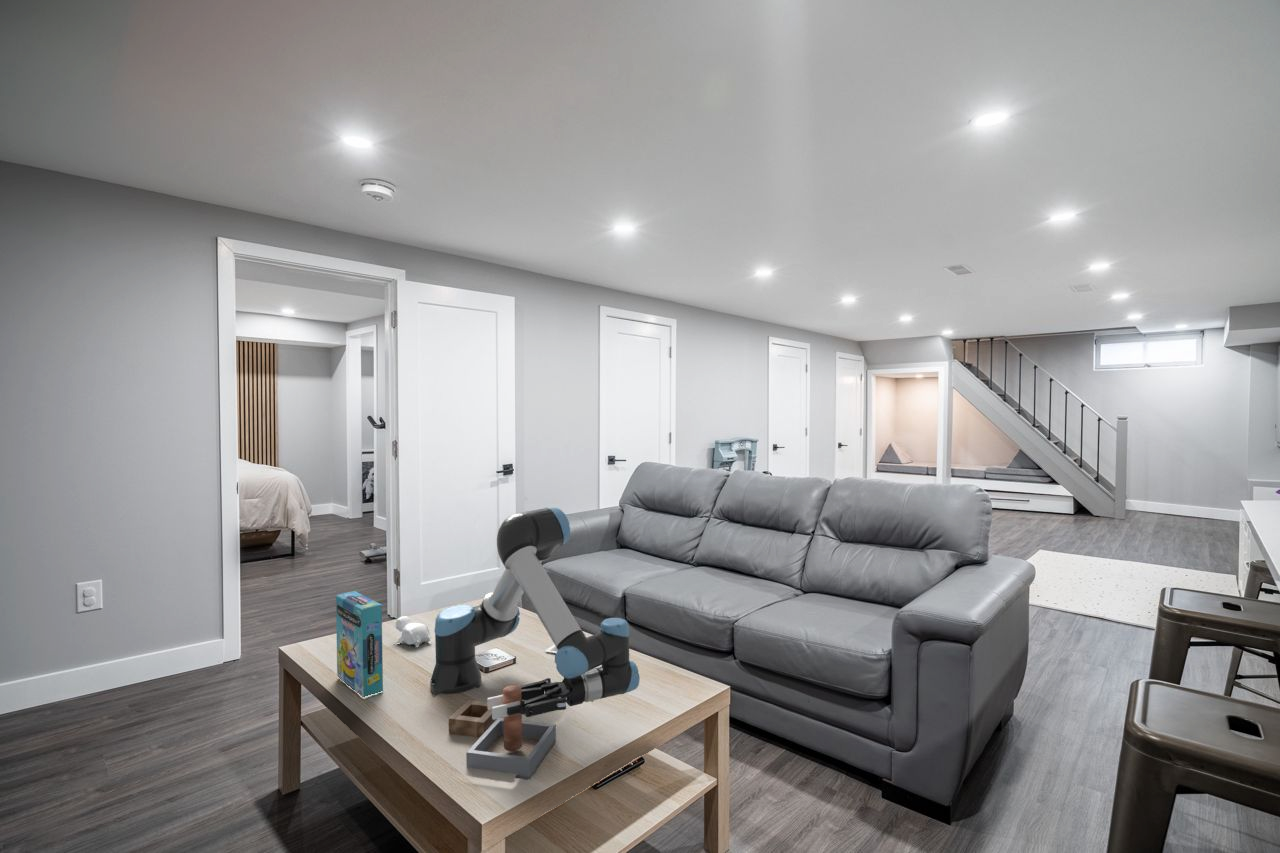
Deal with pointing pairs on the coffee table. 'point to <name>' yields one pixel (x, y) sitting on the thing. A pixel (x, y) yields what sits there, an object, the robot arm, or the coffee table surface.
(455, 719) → the socket block
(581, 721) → the coffee table surface
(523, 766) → the tray
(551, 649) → the touchpad
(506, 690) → the dowel
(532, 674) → the coffee table surface
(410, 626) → the white animal figurine
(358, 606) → the game box
